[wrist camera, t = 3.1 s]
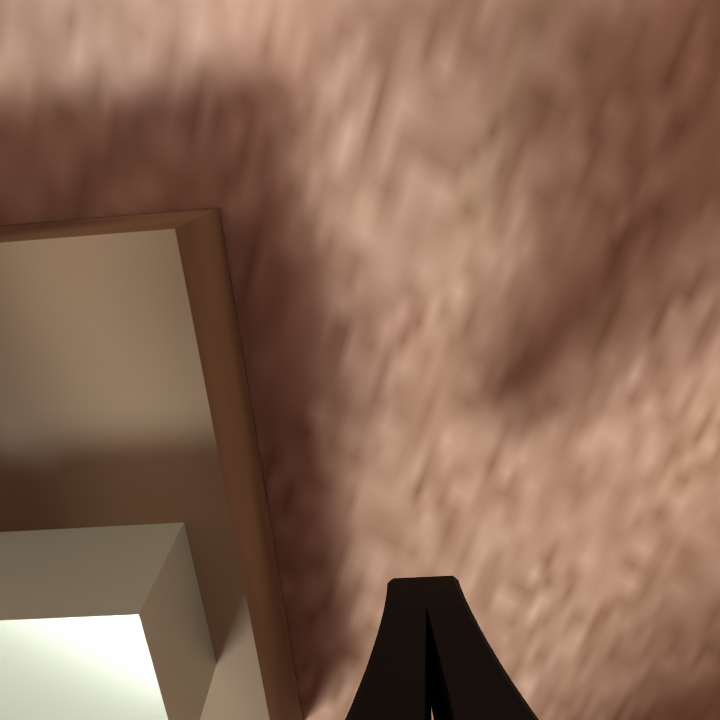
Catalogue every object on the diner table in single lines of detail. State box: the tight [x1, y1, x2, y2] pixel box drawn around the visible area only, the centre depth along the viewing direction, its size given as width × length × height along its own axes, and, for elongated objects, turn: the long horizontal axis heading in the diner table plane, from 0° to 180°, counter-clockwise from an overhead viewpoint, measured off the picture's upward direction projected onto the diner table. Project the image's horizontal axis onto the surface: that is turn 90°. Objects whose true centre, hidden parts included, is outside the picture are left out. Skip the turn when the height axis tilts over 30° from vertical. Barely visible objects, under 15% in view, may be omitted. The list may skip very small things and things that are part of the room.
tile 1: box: [0, 522, 217, 720], centre depth 12 cm, size 4×4×2 cm
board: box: [0, 208, 303, 720], centre depth 14 cm, size 10×16×3 cm, turn 5°
